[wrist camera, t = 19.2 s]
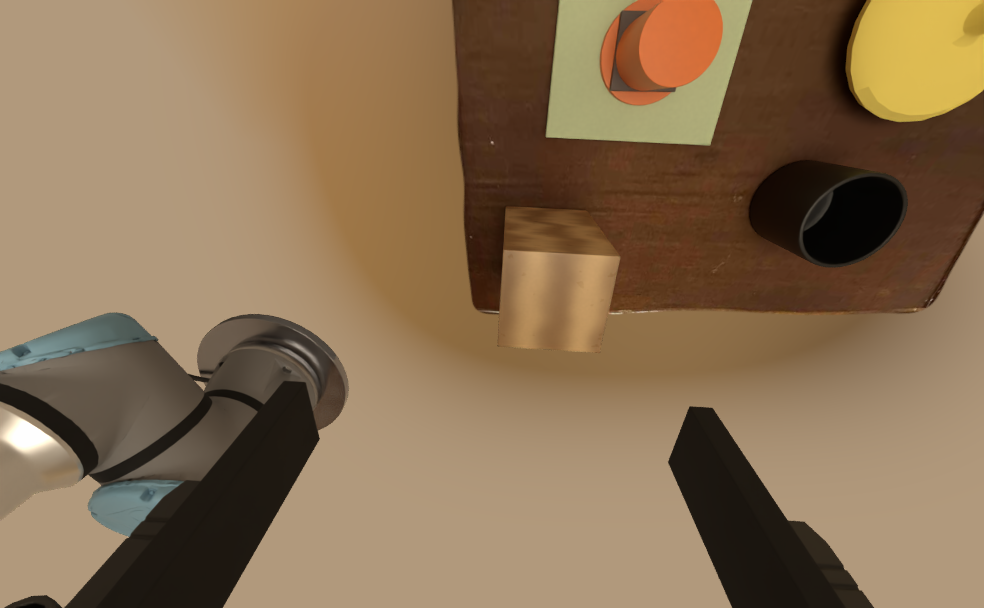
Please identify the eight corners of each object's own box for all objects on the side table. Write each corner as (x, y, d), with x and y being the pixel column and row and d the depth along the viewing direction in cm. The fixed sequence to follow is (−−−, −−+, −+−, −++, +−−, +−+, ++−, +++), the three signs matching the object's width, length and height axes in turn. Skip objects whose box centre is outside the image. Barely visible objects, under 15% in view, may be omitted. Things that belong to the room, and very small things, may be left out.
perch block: (501, 279, 51) (497, 346, 37) (505, 205, 46) (503, 250, 32) (575, 284, 51) (599, 353, 36) (587, 210, 46) (620, 256, 32)
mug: (821, 253, 47) (884, 283, 39) (732, 230, 46) (779, 256, 38) (874, 177, 43) (958, 193, 35) (777, 150, 42) (840, 160, 34)
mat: (545, 136, 42) (545, 137, 41) (564, -52, 35) (565, -56, 34) (705, 144, 42) (710, 145, 41) (760, -44, 34) (766, -48, 33)
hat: (593, 104, 40) (613, 104, 32) (607, -4, 35) (634, -34, 28) (679, 106, 39) (720, 106, 32) (703, -2, 35) (758, -33, 27)
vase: (947, 126, 40) (1027, 130, 34) (799, 115, 40) (852, 117, 34) (1063, -74, 33) (1193, -116, 26) (880, -86, 33) (967, -131, 26)
